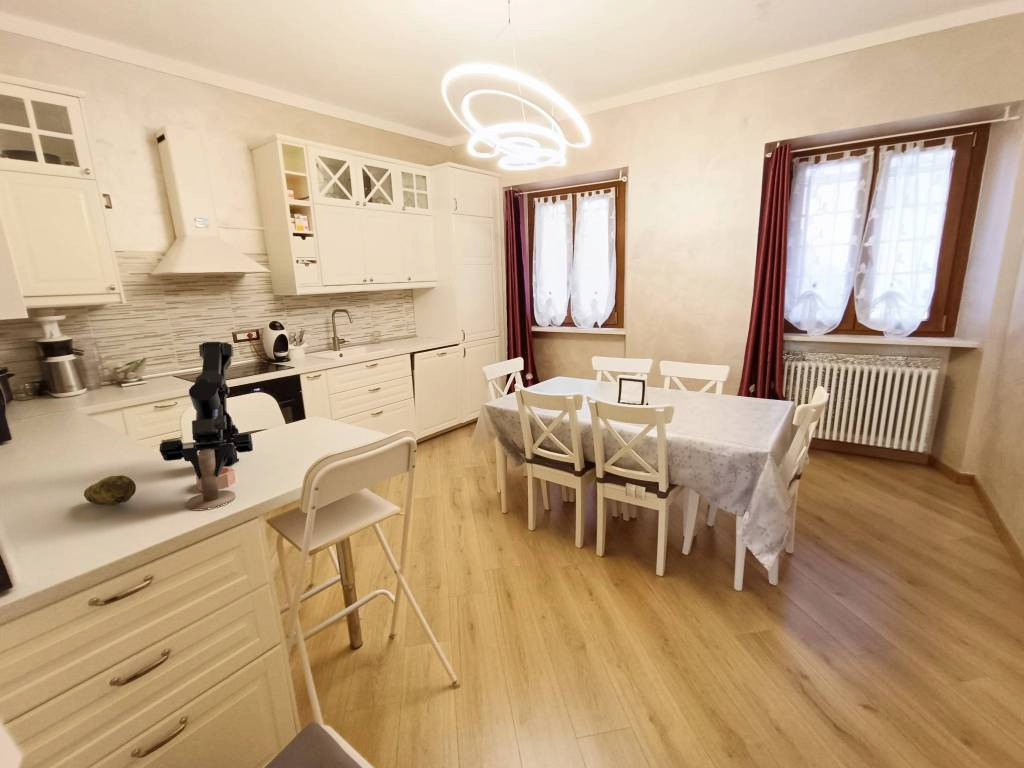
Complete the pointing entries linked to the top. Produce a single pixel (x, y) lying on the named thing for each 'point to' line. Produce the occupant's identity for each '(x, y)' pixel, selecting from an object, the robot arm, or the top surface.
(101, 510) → the top surface
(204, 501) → the peg on round base
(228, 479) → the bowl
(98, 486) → the avocado
